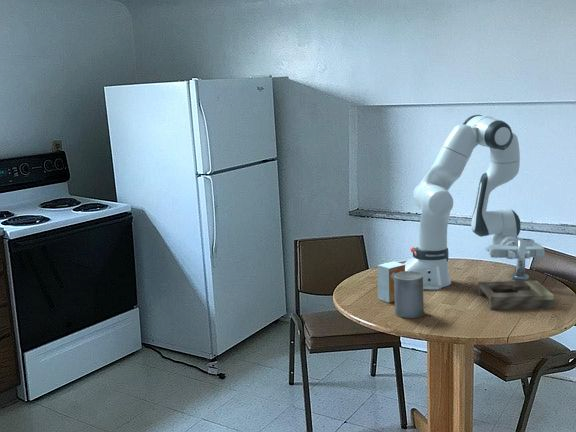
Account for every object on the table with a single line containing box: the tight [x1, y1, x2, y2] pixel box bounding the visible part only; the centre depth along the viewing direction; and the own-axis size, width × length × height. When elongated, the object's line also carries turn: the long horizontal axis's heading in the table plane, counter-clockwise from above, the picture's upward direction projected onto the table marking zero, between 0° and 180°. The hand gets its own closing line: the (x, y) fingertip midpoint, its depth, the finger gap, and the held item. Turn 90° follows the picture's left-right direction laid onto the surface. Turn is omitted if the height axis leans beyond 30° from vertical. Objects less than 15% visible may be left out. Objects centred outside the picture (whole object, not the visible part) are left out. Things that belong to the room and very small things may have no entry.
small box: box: [377, 260, 405, 303], centre depth 231 cm, size 8×6×13 cm
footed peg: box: [511, 240, 530, 281], centre depth 237 cm, size 6×6×15 cm
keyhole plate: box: [478, 280, 555, 311], centre depth 223 cm, size 21×17×4 cm
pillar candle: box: [394, 271, 425, 319], centre depth 215 cm, size 10×10×15 cm
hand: (522, 256), depth 236 cm, fingers closed on footed peg, 3 cm apart
